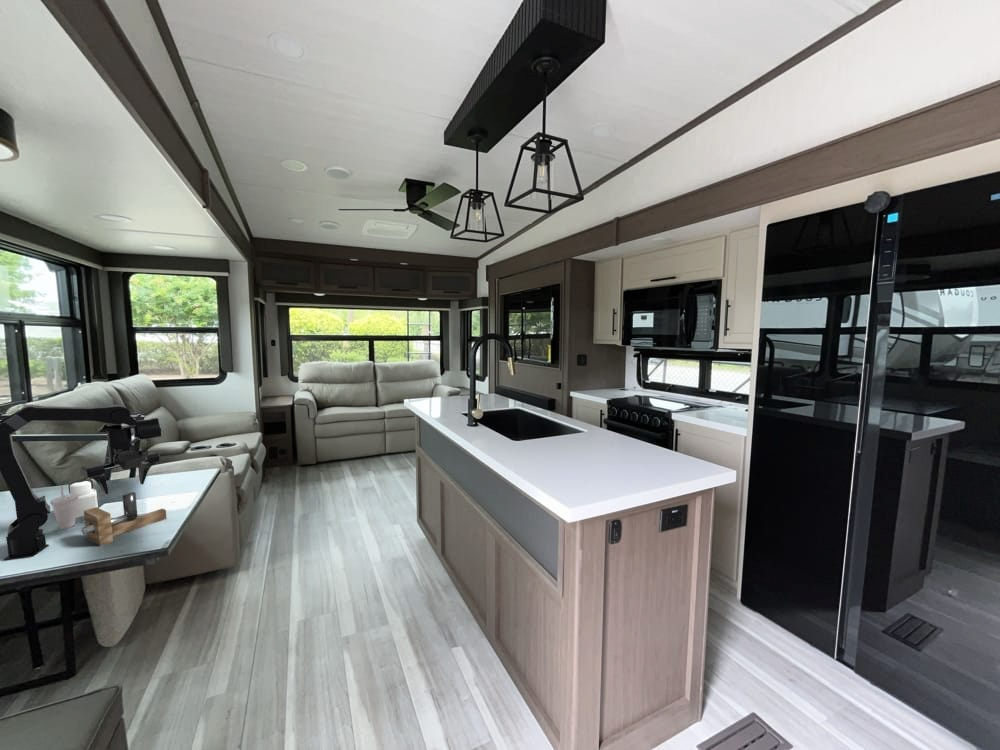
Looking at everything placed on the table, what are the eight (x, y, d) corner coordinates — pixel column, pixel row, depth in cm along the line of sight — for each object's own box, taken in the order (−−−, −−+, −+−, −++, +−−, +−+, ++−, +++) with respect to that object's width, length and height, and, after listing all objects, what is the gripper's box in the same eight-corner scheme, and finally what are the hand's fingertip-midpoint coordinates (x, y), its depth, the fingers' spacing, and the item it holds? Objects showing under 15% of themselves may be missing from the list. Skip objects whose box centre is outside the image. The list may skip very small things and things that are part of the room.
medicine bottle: (70, 513, 144) (66, 481, 143) (98, 507, 149) (94, 476, 148) (68, 520, 139) (65, 486, 138) (97, 513, 144) (94, 481, 143)
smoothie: (47, 531, 131) (42, 490, 129) (62, 522, 137) (58, 483, 135) (71, 529, 132) (67, 488, 131) (85, 520, 139) (81, 481, 137)
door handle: (85, 535, 121) (82, 508, 121) (81, 532, 123) (78, 506, 122) (139, 517, 133) (137, 493, 132) (135, 515, 134) (132, 491, 134)
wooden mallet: (100, 545, 122) (97, 517, 121) (86, 538, 127) (83, 510, 126) (172, 521, 138) (169, 495, 137) (157, 515, 143) (155, 490, 142)
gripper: (93, 453, 119) (98, 504, 121) (167, 439, 136) (170, 483, 138) (76, 449, 124) (82, 497, 126) (150, 435, 141) (154, 478, 143)
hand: (124, 488), depth 133 cm, fingers open, 9 cm apart
